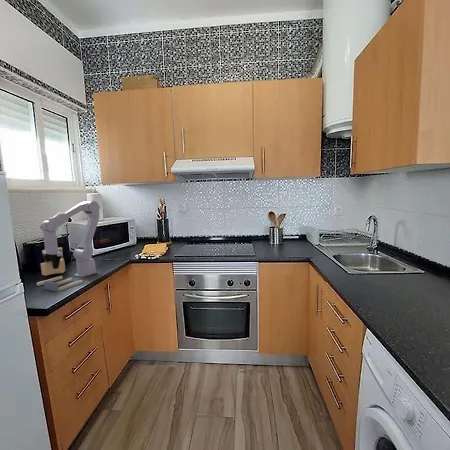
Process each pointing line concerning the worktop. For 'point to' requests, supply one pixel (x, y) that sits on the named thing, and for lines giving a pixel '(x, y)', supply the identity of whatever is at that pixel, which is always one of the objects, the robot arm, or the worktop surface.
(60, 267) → the tall tan wooden block
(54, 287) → the divider organiser
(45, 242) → the robot arm
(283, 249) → the worktop surface
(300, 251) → the worktop surface
